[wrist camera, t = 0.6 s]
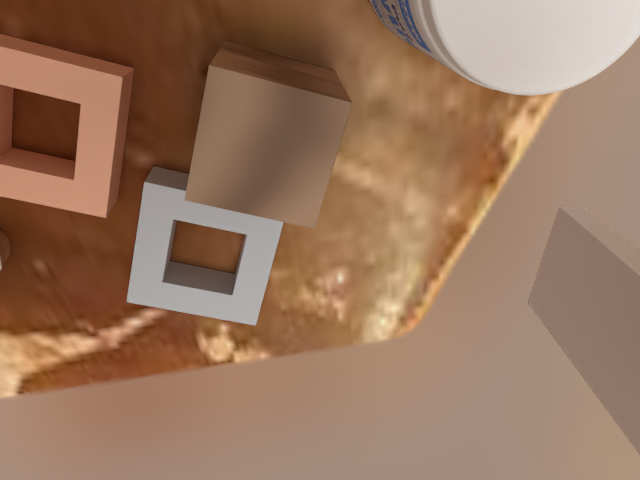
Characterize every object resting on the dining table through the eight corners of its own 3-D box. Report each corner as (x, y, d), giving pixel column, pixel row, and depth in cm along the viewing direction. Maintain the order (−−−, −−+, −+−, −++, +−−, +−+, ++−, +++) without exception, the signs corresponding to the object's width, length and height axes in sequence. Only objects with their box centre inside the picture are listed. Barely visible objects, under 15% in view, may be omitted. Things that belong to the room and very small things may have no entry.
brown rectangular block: (204, 148, 37) (184, 200, 29) (224, 40, 34) (209, 65, 26) (306, 172, 38) (314, 228, 30) (334, 70, 35) (351, 102, 27)
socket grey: (136, 279, 41) (126, 301, 38) (153, 166, 37) (144, 181, 35) (256, 302, 43) (255, 325, 40) (285, 195, 39) (286, 213, 36)
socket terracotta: (-24, 169, 36) (-48, 186, 34) (-23, 27, 33) (-49, 33, 30) (117, 199, 38) (105, 218, 35) (134, 68, 34) (122, 77, 32)
